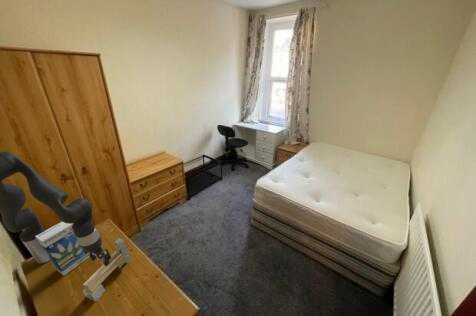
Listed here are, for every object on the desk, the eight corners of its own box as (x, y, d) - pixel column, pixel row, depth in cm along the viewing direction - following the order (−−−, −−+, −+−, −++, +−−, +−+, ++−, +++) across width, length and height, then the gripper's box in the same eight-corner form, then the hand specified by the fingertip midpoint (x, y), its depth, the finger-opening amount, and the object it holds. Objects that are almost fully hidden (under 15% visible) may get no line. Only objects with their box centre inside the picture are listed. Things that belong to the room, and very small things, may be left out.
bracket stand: (86, 296, 93) (72, 276, 86) (124, 256, 112) (116, 236, 105) (96, 301, 91) (83, 281, 84) (133, 260, 110) (125, 240, 103)
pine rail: (86, 289, 91) (83, 284, 90) (118, 256, 107) (116, 251, 105) (92, 292, 90) (89, 287, 88) (123, 258, 105) (121, 253, 104)
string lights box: (63, 276, 102) (40, 242, 91) (56, 269, 105) (33, 236, 94) (90, 256, 113) (73, 223, 101) (83, 250, 116) (65, 218, 104)
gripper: (69, 240, 86) (82, 264, 94) (93, 250, 82) (105, 273, 89) (86, 228, 92) (97, 251, 100) (108, 236, 88) (118, 259, 96)
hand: (101, 261), depth 95 cm, fingers open, 8 cm apart
